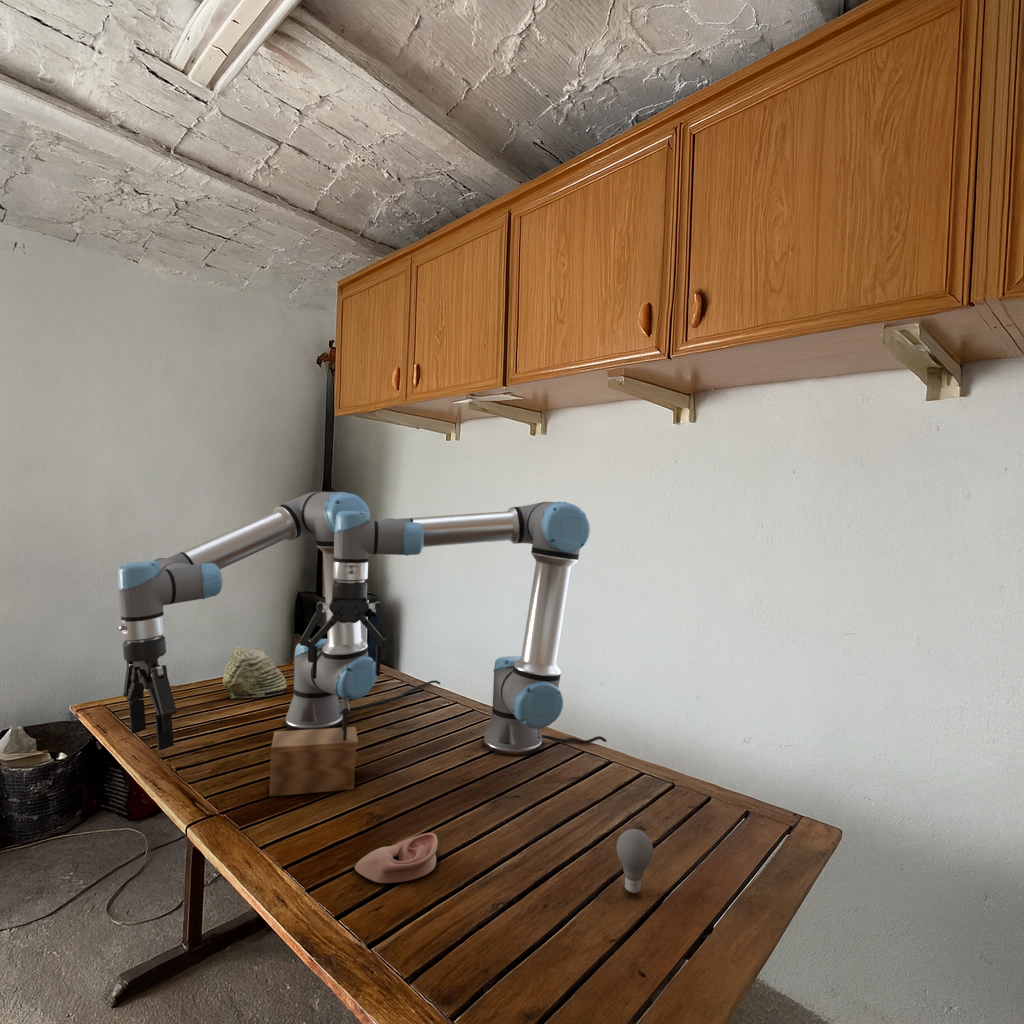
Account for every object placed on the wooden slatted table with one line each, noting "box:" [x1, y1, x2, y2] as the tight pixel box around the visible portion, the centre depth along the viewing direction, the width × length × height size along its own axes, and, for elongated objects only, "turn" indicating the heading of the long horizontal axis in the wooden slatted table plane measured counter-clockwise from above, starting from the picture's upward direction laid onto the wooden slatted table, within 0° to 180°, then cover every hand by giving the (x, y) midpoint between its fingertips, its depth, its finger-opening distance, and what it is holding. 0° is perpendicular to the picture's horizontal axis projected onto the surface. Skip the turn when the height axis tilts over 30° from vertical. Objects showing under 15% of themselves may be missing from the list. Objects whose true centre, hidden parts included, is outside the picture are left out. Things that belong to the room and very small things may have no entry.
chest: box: [269, 747, 357, 797], centre depth 140 cm, size 17×9×9 cm, turn 107°
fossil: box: [222, 646, 288, 699], centre depth 198 cm, size 9×18×15 cm, turn 132°
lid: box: [270, 698, 359, 754], centre depth 140 cm, size 18×9×8 cm, turn 107°
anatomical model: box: [354, 832, 439, 884], centre depth 110 cm, size 13×4×12 cm
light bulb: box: [615, 828, 654, 894], centre depth 106 cm, size 6×6×10 cm
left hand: (151, 739), depth 130 cm, fingers open, 13 cm apart
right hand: (346, 675), depth 141 cm, fingers open, 13 cm apart
